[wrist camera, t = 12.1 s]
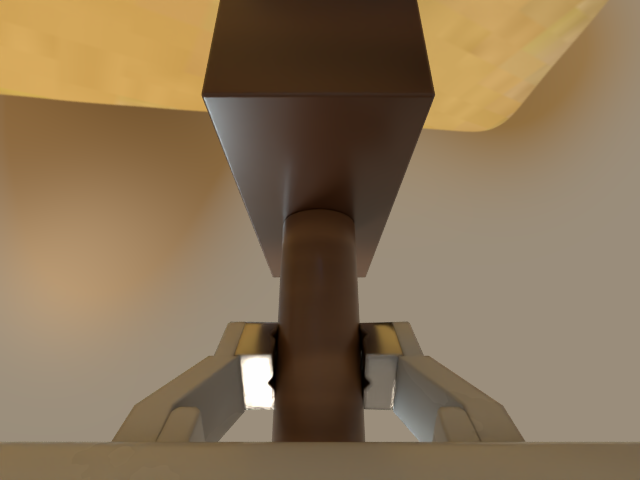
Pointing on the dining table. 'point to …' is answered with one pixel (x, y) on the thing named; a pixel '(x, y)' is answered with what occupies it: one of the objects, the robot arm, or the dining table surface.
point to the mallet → (318, 174)
